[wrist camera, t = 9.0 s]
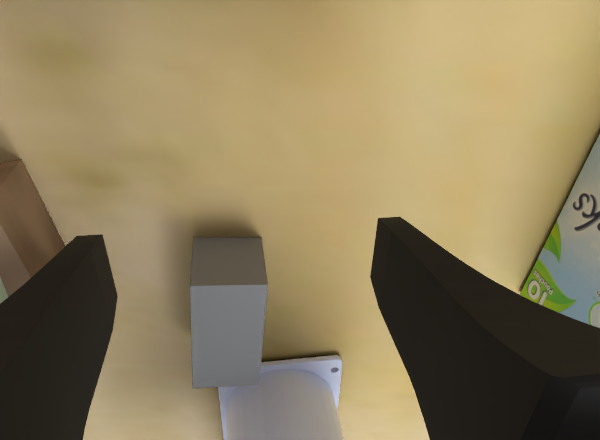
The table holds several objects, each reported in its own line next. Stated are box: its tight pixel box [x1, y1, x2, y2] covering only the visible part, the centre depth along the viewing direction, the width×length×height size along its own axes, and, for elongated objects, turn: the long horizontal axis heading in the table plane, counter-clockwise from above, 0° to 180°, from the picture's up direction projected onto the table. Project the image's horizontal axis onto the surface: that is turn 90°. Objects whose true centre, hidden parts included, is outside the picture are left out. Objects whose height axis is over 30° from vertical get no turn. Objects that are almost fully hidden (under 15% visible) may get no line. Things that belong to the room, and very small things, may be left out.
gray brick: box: [190, 237, 268, 388], centre depth 25 cm, size 7×4×4 cm, turn 174°
